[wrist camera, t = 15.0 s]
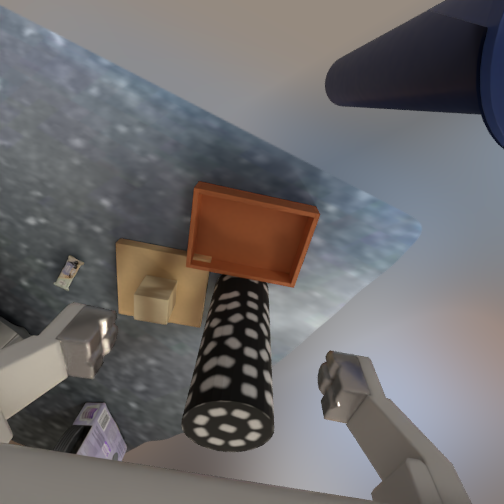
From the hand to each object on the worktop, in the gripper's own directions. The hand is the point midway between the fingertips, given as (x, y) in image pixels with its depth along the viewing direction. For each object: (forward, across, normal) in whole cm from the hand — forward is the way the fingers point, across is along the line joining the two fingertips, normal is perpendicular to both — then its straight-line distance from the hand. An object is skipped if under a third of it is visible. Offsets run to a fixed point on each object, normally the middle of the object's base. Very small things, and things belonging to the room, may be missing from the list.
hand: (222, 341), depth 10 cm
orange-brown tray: (+26, -1, +8) cm, 27 cm away
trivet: (+25, +10, +19) cm, 33 cm away
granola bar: (+25, +24, +20) cm, 40 cm away
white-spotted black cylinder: (+26, -2, +18) cm, 31 cm away
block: (+24, +10, +19) cm, 32 cm away
